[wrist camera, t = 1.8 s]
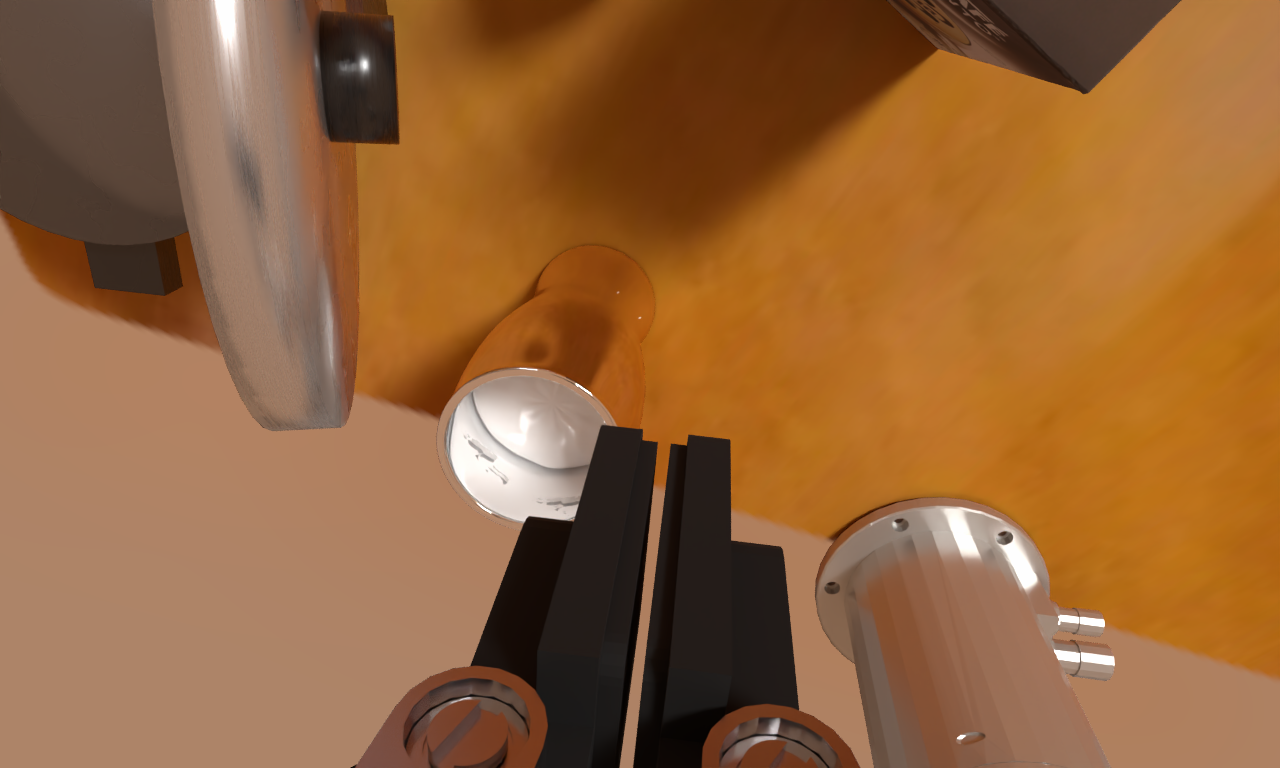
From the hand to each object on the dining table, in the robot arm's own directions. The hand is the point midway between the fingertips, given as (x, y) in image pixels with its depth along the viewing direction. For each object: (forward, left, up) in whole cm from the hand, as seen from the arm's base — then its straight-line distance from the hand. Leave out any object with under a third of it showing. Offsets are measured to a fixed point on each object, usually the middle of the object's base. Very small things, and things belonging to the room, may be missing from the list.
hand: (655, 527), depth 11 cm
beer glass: (+5, +8, -30) cm, 31 cm away
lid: (+12, -4, -11) cm, 17 cm away
